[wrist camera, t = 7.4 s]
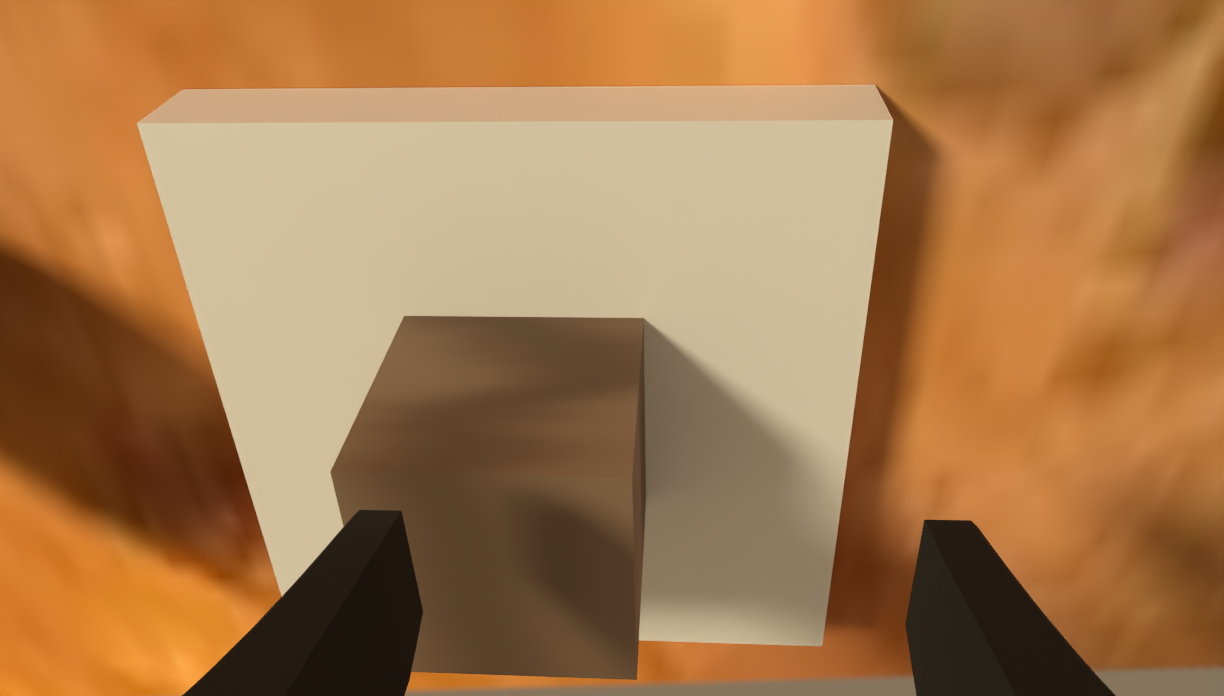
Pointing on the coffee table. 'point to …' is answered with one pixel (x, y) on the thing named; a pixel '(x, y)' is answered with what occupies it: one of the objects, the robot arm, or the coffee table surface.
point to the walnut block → (512, 488)
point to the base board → (552, 294)
